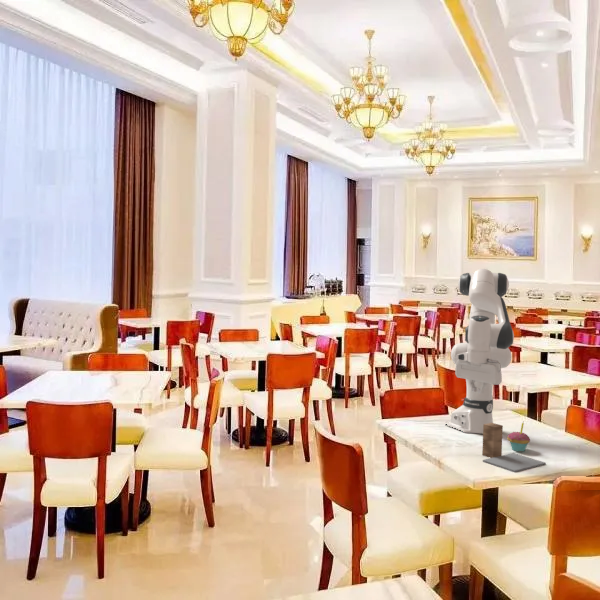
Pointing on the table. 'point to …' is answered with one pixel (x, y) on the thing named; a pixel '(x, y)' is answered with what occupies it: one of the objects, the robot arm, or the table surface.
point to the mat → (514, 462)
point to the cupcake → (518, 440)
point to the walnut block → (492, 440)
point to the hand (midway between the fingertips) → (477, 392)
